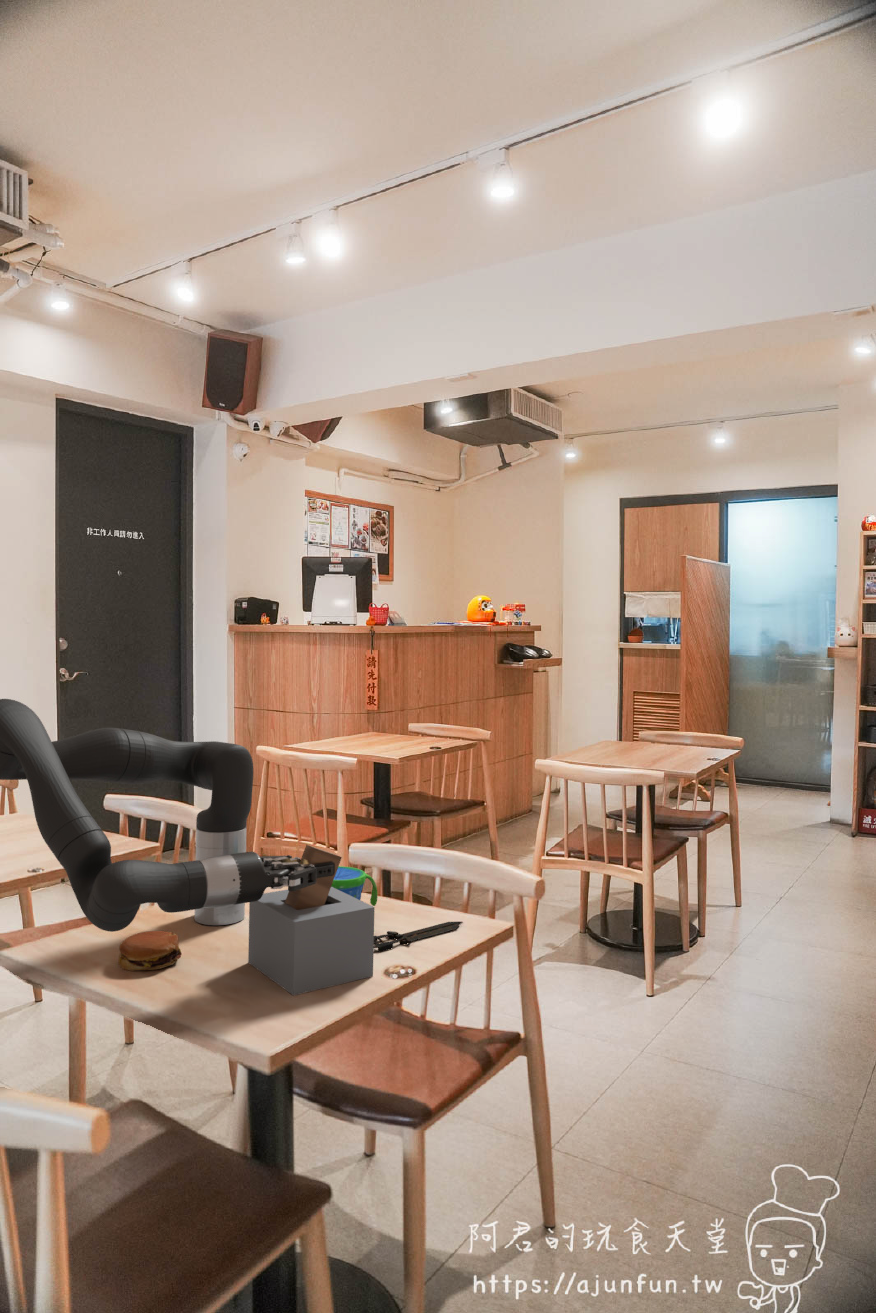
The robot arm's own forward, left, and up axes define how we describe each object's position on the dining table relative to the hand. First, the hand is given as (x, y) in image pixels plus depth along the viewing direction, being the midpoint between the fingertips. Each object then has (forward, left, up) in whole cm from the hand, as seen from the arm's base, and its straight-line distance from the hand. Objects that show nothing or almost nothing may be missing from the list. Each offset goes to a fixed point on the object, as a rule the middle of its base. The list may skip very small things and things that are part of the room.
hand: (327, 865), depth 144 cm
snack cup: (-16, +11, -17) cm, 26 cm away
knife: (-4, +20, -17) cm, 27 cm away
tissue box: (0, -3, -16) cm, 17 cm away
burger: (-17, -23, -17) cm, 33 cm away
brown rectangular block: (0, -4, -7) cm, 8 cm away
